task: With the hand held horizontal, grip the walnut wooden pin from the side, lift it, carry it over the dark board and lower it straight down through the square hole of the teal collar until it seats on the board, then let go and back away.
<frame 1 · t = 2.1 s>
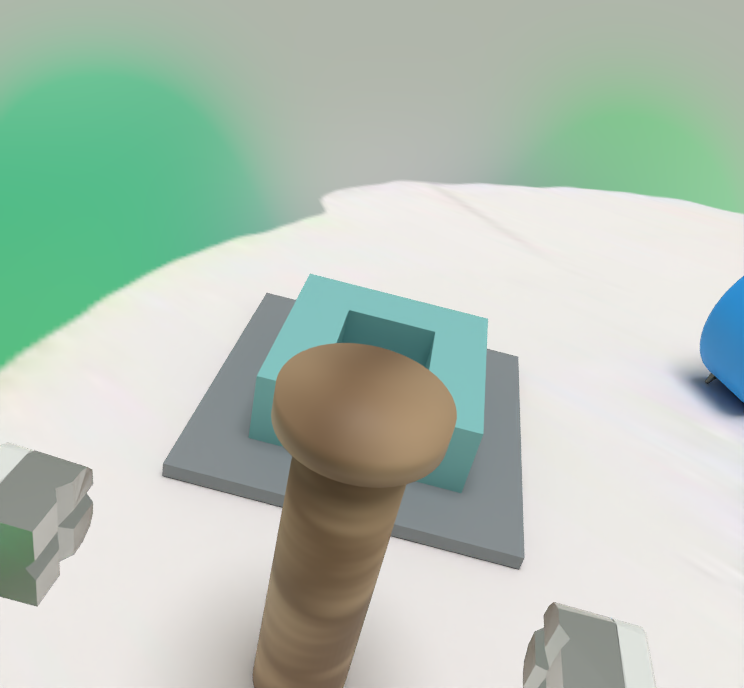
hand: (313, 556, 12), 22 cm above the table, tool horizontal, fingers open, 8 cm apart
pin: (299, 674, 34), on the table
socket board: (368, 411, 52), on the table
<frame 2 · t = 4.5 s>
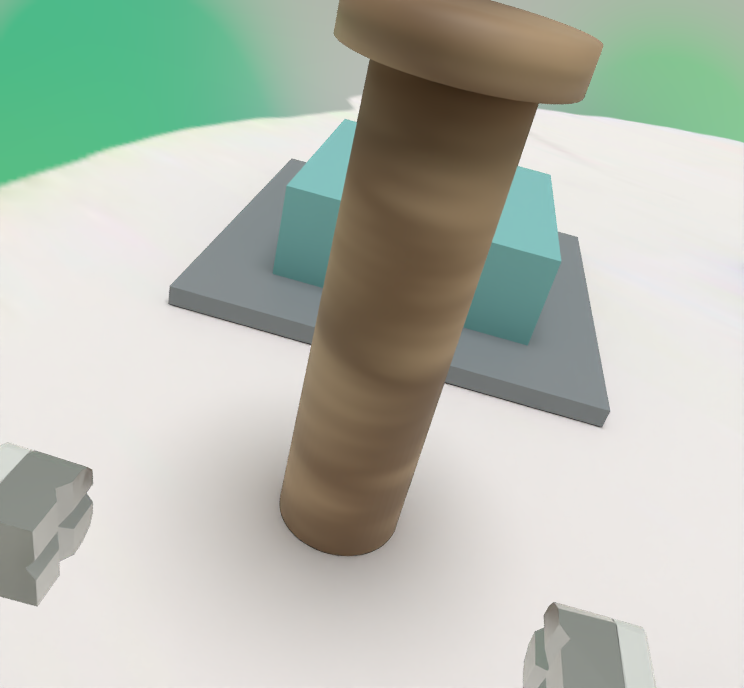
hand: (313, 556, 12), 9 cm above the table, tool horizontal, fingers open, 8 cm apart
pin: (339, 507, 26), on the table
socket board: (411, 270, 44), on the table
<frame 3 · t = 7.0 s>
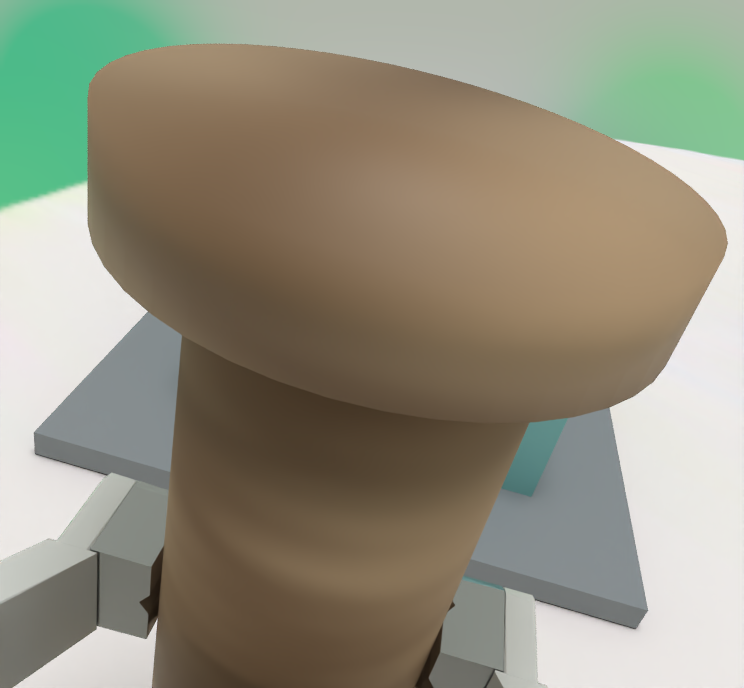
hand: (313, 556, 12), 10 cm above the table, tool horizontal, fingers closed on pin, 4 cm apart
socket board: (381, 371, 34), on the table
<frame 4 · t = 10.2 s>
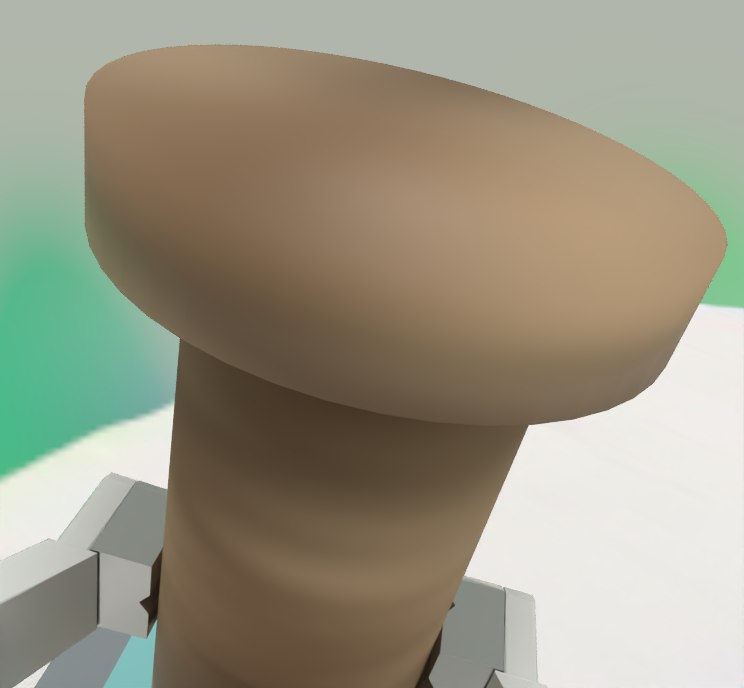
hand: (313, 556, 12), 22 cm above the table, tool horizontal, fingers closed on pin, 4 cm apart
when the fingers open (11 cm above the table, at t = 13.4 s): pin stays where it is, resting on socket board.
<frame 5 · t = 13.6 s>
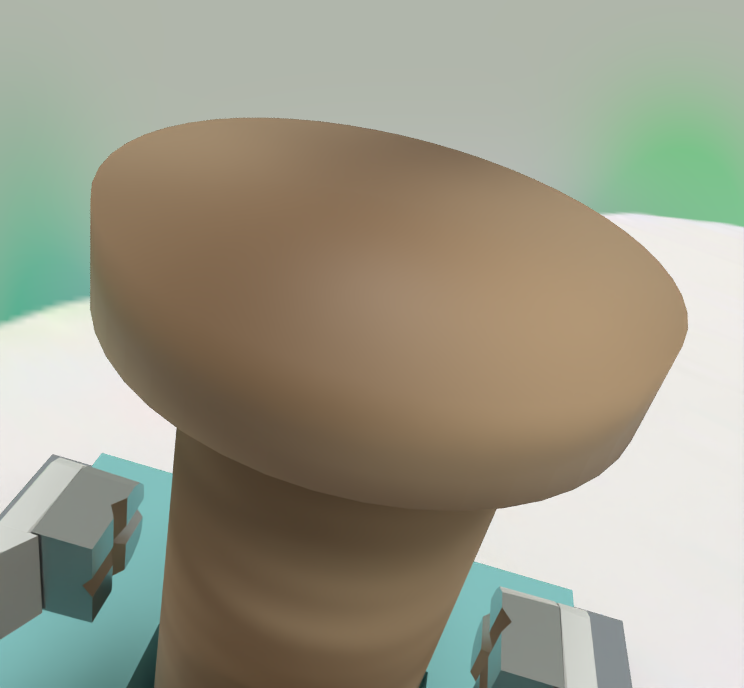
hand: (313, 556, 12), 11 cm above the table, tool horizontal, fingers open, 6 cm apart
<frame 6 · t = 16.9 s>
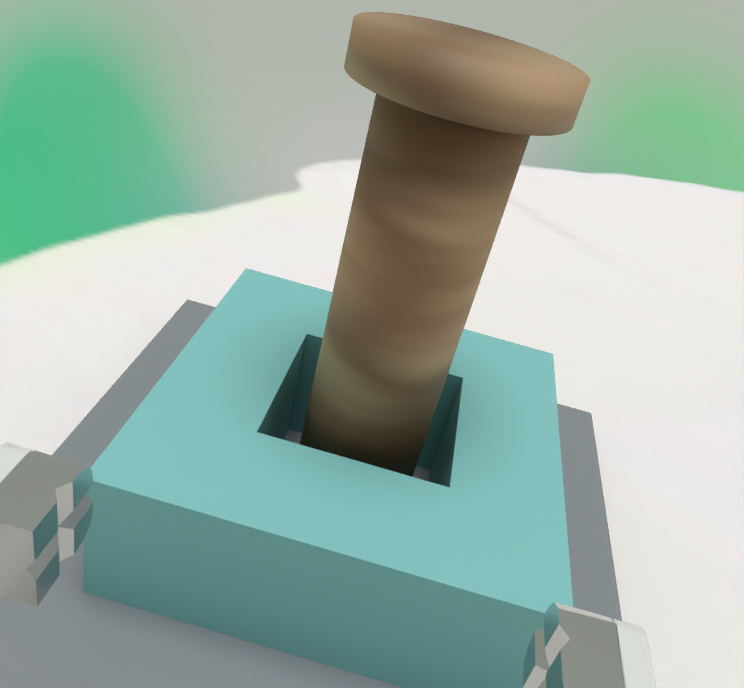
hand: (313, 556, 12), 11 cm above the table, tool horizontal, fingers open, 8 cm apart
pin: (344, 501, 28), point 1 cm above the table, touching socket board
socket board: (339, 518, 29), on the table
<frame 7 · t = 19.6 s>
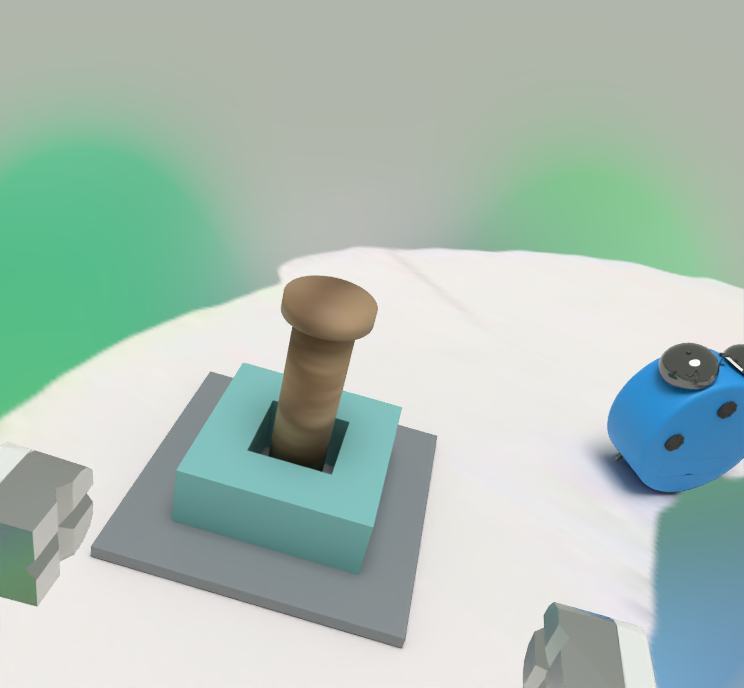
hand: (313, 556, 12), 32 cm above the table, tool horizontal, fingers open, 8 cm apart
pin: (291, 483, 57), point 1 cm above the table, touching socket board
socket board: (289, 491, 57), on the table
alarm clock: (655, 475, 70), on the table
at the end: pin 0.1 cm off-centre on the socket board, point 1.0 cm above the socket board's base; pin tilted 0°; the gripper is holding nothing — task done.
